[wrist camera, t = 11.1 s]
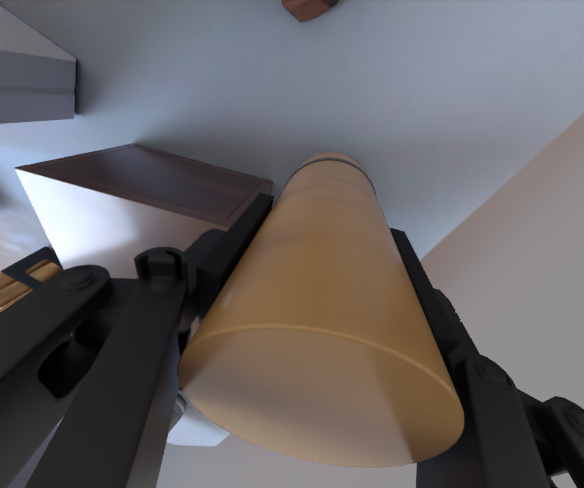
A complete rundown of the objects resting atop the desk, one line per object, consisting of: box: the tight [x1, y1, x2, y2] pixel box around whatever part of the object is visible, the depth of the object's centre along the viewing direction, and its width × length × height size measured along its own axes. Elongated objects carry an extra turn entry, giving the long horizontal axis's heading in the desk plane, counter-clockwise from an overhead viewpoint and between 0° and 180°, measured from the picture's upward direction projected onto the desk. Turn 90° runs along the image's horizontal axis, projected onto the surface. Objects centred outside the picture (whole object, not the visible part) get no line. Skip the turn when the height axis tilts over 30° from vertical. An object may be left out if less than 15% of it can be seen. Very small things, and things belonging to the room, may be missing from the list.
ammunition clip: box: [0, 247, 64, 312], centre depth 28 cm, size 11×2×12 cm, turn 49°
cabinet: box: [14, 144, 273, 340], centre depth 21 cm, size 17×14×9 cm
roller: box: [177, 152, 464, 468], centre depth 11 cm, size 6×6×15 cm
